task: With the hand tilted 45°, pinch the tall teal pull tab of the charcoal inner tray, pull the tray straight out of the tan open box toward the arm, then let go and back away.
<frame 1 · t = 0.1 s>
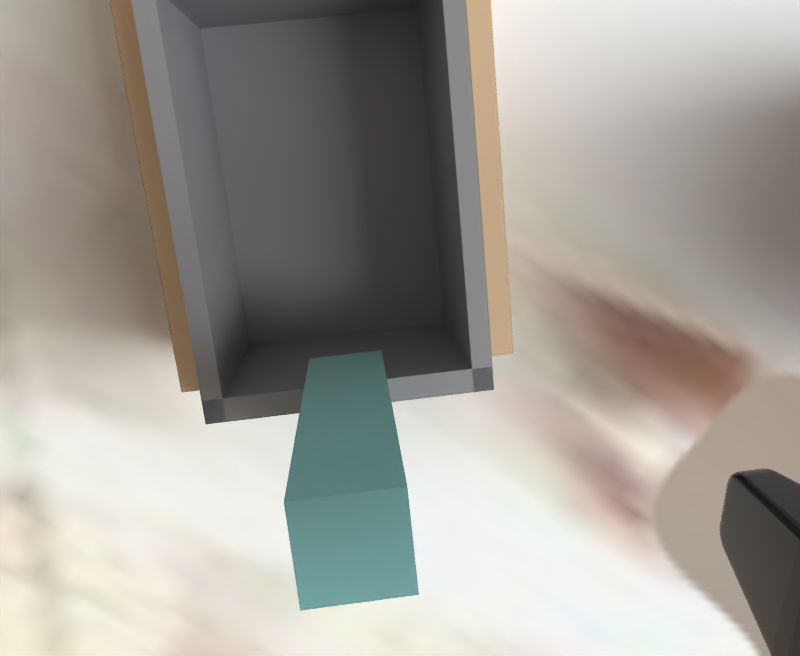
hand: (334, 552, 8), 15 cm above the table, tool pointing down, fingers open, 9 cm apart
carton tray: (325, 210, 16), point 7 cm above the table, slide at 0.0 cm
tan open box: (327, 163, 22), on the table
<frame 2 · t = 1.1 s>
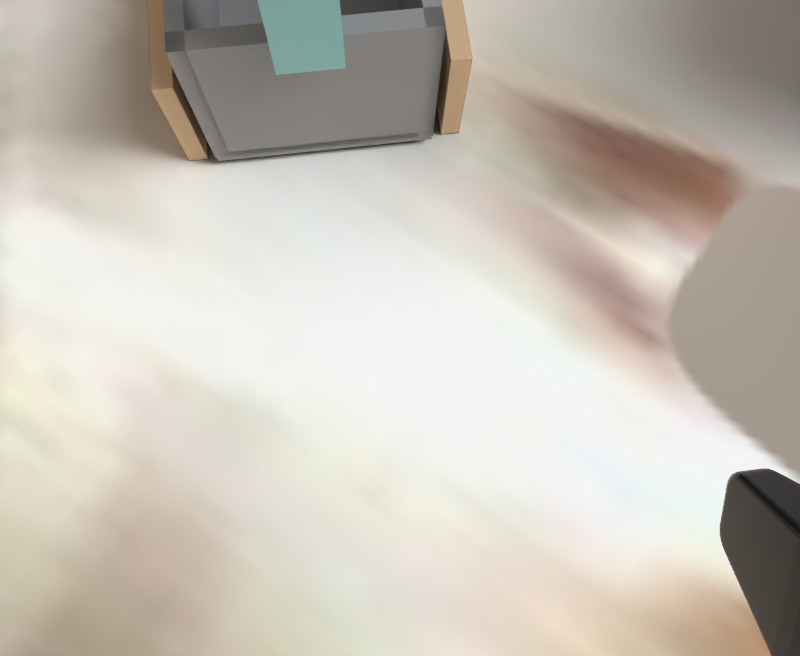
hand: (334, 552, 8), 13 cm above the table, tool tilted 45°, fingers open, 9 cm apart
tan open box: (310, 7, 25), on the table
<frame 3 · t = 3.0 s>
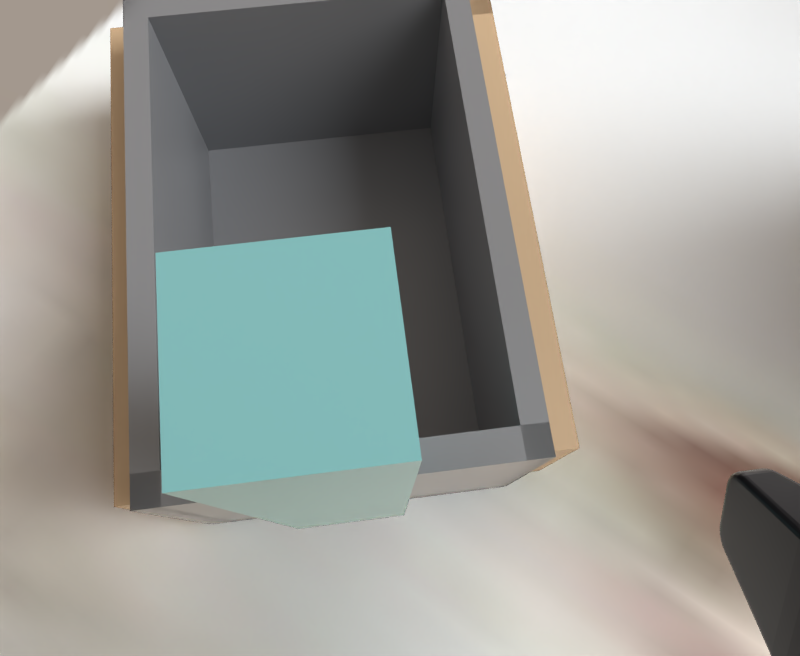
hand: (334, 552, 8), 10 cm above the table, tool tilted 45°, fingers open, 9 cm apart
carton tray: (315, 200, 13), point 7 cm above the table, slide at 0.0 cm
tan open box: (337, 285, 19), on the table
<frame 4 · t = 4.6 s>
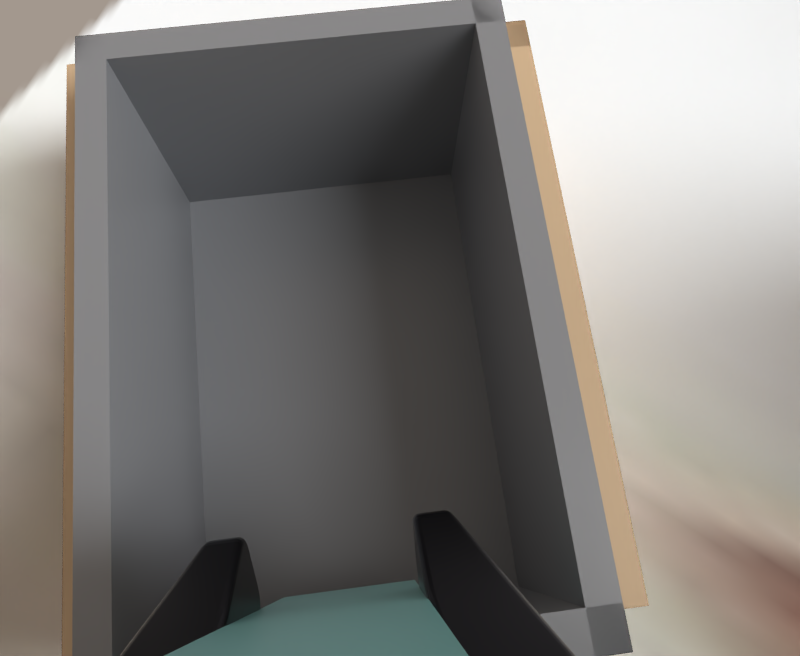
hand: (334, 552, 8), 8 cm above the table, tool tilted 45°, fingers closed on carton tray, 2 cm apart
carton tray: (316, 309, 10), point 7 cm above the table, slide at 0.0 cm, touching gripper
tan open box: (341, 361, 16), on the table
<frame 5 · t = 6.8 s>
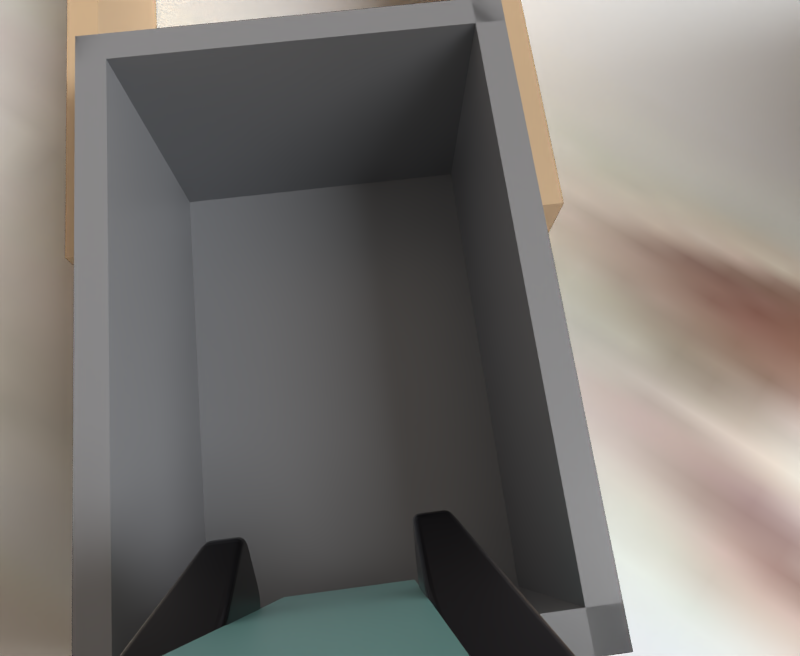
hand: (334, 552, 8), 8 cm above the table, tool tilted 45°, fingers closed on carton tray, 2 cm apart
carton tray: (316, 309, 10), point 7 cm above the table, slide at 7.0 cm, touching gripper
tan open box: (313, 99, 18), on the table
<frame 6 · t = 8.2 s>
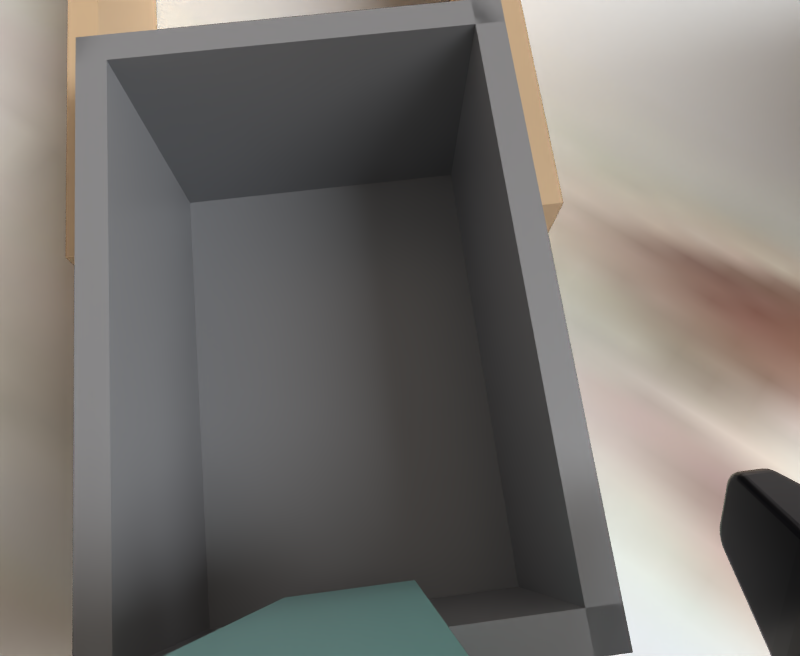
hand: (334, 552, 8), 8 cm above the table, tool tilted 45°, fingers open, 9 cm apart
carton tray: (316, 309, 10), point 7 cm above the table, slide at 7.0 cm
tan open box: (313, 99, 18), on the table
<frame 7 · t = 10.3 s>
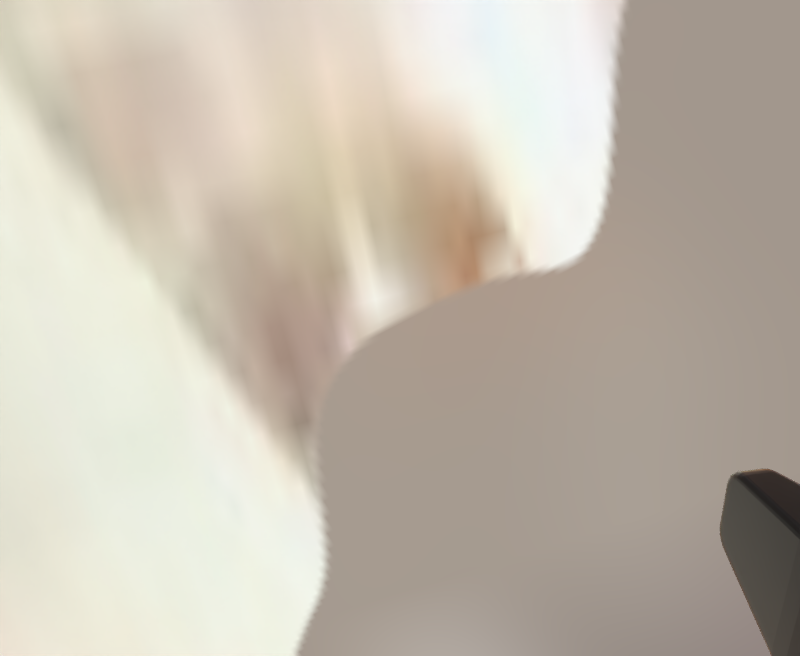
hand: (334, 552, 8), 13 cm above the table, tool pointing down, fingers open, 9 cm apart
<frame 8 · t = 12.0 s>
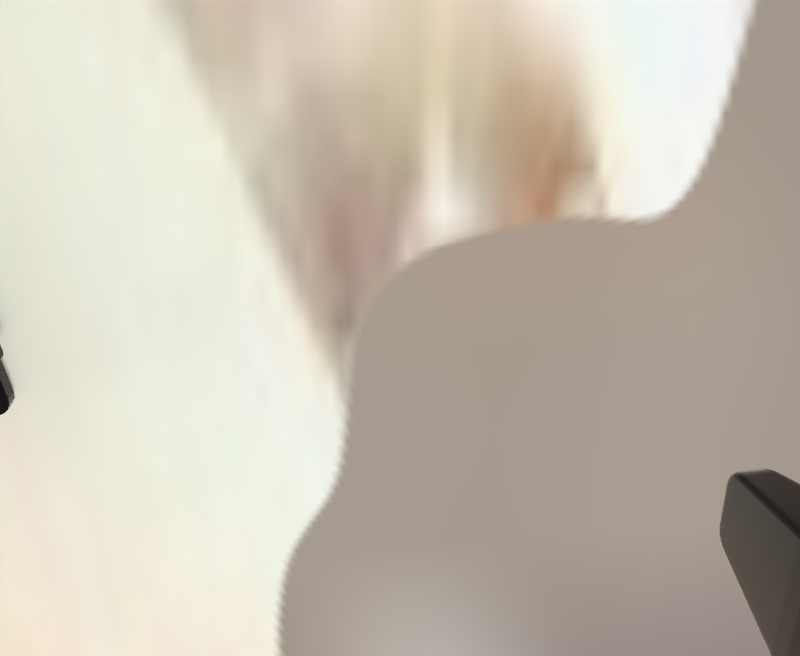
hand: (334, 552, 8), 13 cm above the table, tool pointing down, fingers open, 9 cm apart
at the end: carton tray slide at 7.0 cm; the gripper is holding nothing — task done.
